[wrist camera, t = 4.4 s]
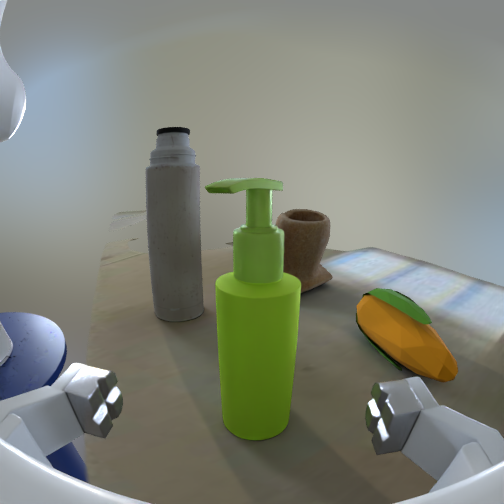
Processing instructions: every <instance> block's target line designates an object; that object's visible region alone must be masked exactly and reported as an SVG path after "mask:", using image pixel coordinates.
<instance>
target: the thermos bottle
mask: <svg viewBox="0 0 504 504" xmlns="http://www.w3.org/2000/svg"><path fill="white" fill-rule="evenodd" d="M189 134H190V130H189V129H188V128H182V127H168V128H162V129H158V130H157V136H158V138H157V144H156V145H157V146H156V149H155V150H153V151H152V152H151V158H150V161H151V162H150V166H149V167H146V209H147V210H146V211H147V232H148V248H149V261H150V273H151V283H152V293H153V302H154V310H155V314H156V316H157V317H158V318H160V319H163V320H166V321H186V320H191V319H194V318H196V317H198V316H200V315H201V314H202V313H203V311H204V305H203V287H202V264H201V237H200V236H201V235H200V166H199V165H196V164H195V157H196V155H195V151H194V150H193V149H191V148H190V147H189V138H188V135H189Z"/></svg>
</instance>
